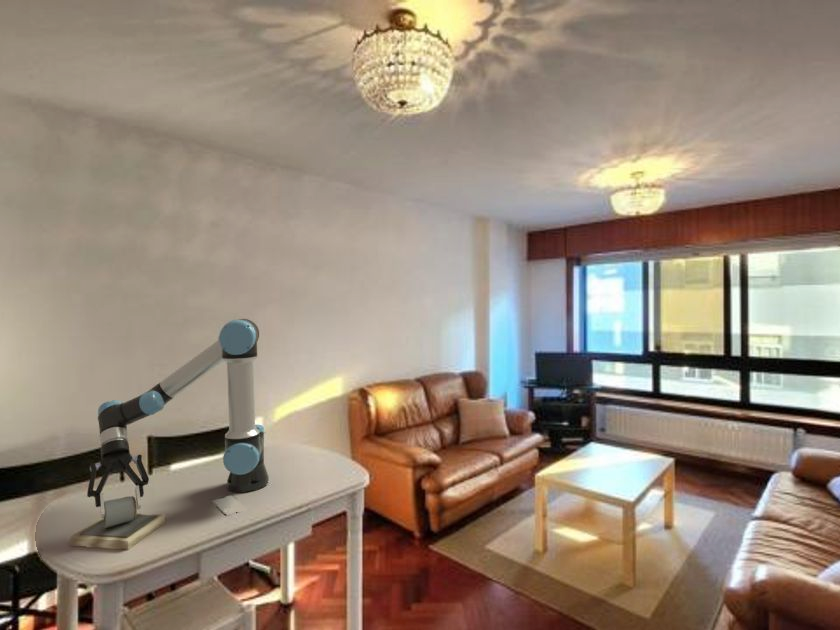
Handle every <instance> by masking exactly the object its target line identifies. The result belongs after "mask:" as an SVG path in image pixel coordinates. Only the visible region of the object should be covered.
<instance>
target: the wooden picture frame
mask: <svg viewBox="0 0 840 630" xmlns="http://www.w3.org/2000/svg"><path fill="white" fill-rule="evenodd" d="M165 523H166V514H155V513H140V512H139V513H138V512H137V515H136V518H135V519H133V520H131V521H128V522H125V523H121V524H118V525H115V526H112V527H108V528H105V527H104V518H100V519H98V520H97V521H95V522H94V523H91V524H90V525H88V526H87V527H85V528H83V529H82V530H80V531H78V532H77V533H75V534H73V535H72V536H70V537H69V546H70V545H72V546H71V547H74V546H73V545H76V546H75V547H79V546H86V547H85V548H94V549H95V548H98V549H114V550H126V551H127V550H131V549H132V547H134V546H135V545H137V544H138V543H140V542H141V541H142V540H144V539H145V538H146V537H148V536H149V535H150V534H152V533H153V532H154V531H156V530H157V529H159V528H160V527H161V526H163V525H164V524H165Z"/></svg>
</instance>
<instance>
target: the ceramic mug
mask: <svg viewBox="0 0 840 630" xmlns="http://www.w3.org/2000/svg"><path fill="white" fill-rule="evenodd" d="M104 509H105V516H104V527H105V528H108V527H112V526H115V525H118V524H121V523H125V522H128V521H131V520H133V519H135V518H136V515H137V513H138V512H137V511H138V509H137V502H136V496H124V497H119V498H114V499H108V500H104Z"/></svg>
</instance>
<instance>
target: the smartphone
mask: <svg viewBox="0 0 840 630" xmlns="http://www.w3.org/2000/svg"><path fill="white" fill-rule="evenodd" d="M237 500H238V499H237V498H236V497H235V496H234V495H232V494H231V495H227V496H223V497H219V498H215V499H212V501H211V503H212V504H213V505H214V506H215V507H216V506H217V507H218V508H219V509H220V510H221V511H222V512H223V513H224V514H226V515H229V516H231V515H230V514H231V513H230V512H229V510H228V509H227V508H229V509H231V506H233V505H232V504H234V503H235V502H237ZM217 507H216V508H217ZM218 508H217V509H218ZM219 509H218V510H219ZM224 509H227V511H228V512H224V511H225V510H224ZM220 510H219V511H220ZM221 511H220V512H221ZM222 512H221V513H222ZM223 513H222V514H223ZM224 514H223V515H224Z"/></svg>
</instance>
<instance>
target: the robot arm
mask: <svg viewBox="0 0 840 630" xmlns="http://www.w3.org/2000/svg"><path fill="white" fill-rule="evenodd" d="M259 338H260V330H259V327H258V326H257V324H256V323H255V322H253V321H252V320H250V319H248V318H239V319H233V320H231V321H228V322H226V324H224V325H223V327H222V328H221V329H220V332H219V336H218V337H217V341H215V342H214V343H212V344H211V345H210V346H208V347H206V349H204V350H203V351H202V352H199V353H198V354H197V355H196V356H194V357H192V359H191V360H189V361H188V362H186V363H185V364H183V365H182V366H180V367H179V368H178V369H176V370H175V371H174V372H172V373H171V374H169V375H168V376H166V377H165V378H164V379H162V381H160V382H158V383H157V384H155V385H154V386H153V387H151V388H150V389H149V390H148V391H145V392H144V393H141V394H139V395H138V396H136V397H134V398H132V399H129V400H126V401H125V402H123V401H121V400H116V399H115V400H111V401H109V400H108V401H104V402H103V403H102V404H100V405H99V407H98V411H97V420H98V421H97V422H98V428H99V430H98V431H99V444H100V456H101V460H100V461H99V462H96V463H95V462H91V463H90V464H89V471H90V476H89V477H90V478H89V481H88V487H87V492H86V493H87V494H86V497H88V498H91V497H92V498H94V501H95V506H94V507H96V508H99V509H100V519H102V518H104V516H105V509H104V501H105V499H104V492H102V491H103V489H104V487H105V484H106V483H107V480H108V479H109V477H110V474H115V473H117V472H118V473H120V472H121V473H122V472H123V473H124V474H126V475H127V476H128V478H129V479H130V480H131V481H132V483H133V484H134V485H135V489H134V493H135V500H136V507H137V510H140V509H141V507H142V499H141V498H143V496H144V493H145V492H144V486H147V485H148V484H149V481H150V479H149V475H148V474H147V471H146V469H145V466H144V463H143V461H142V457H143V456H142V454H138V455H135V456H134V455H132V454H131V452H130V445H129V437H128V429H127V427H128V425H131V424H133V423H135V422H138V421H140V420H142V419H145V418H146V417H149V416H152V415H155V414H156V413H158V412H161V411H162V410H163V409H164V408H165V405H167V403H169V402H170V401H171V400H173V399H174V398H175V397H177V396H178V395H179V394H181V393H182V392H184V391H185V390H186V389H188V388H189V387H191V386H192V385H193V384H195V383H196V382H197V381H199V380H200V379H201V378H203V377H204V376H206V374H208V373H209V372H211V371H212V370H213V369H215V368H216V367H218V366H219V365H221V364H222V363H223V362H224V361H225V362H226V368H227V369H226V371H227V396H228V397H227V398H228V400H227V401H228V403H227V404H228V426H229V427H228V431H227V432H226V433H225V434H224V445H225V446H224V449H225V450H224V453H223V456H222V460H223V461H222V463H223V465H224V467H225V469H226V470H227V471H228V472H229V475H228V476H227V479H226V488H227V490H229V491H231V492H234V493H246V492H247V491H249V492H253V491H252V490H254V491H257V490H256V489H258V490H260V489H259V488H261V487H263V486H265V485H266V484H267V483H268V484H269V482H268V481H269V480H270V479H269V478H270V477H269V474H268V470H267V468H266V466H265V433H266V432H265V429H264V426H263V425H261V424H256V421H255V420H256V417H255V416H256V414H255V387H254V386H255V385H254V379H255V378H254V361H255V360H256V358H258V341H259ZM131 462H133V463H134V464H136V468H137V470H138V473H139V475H138V474H137V473H136V472H135V471H134V470H133V468H132V467H131V465H130V464H131ZM100 467H101V468H102V469H103V470H104V473H103V475H102V477H101V479H100V480H99V483H98V485H97V487H96V489H95V490H94V487H95V481H96V475H97V471H98V470H99V468H100ZM268 484H267V485H268ZM267 485H266V486H267ZM266 486H265V487H266ZM263 488H264V487H263ZM261 489H262V488H261ZM247 493H248V492H247Z"/></svg>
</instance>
